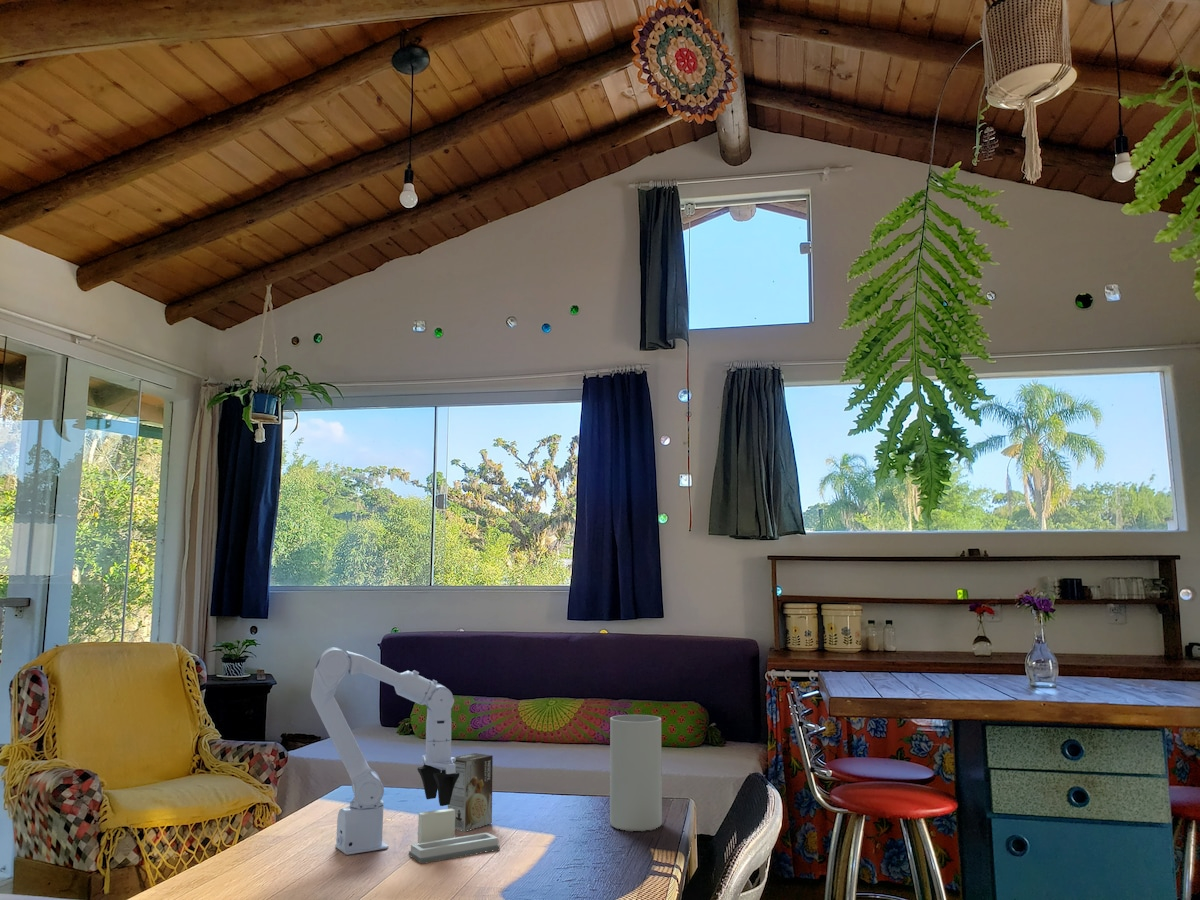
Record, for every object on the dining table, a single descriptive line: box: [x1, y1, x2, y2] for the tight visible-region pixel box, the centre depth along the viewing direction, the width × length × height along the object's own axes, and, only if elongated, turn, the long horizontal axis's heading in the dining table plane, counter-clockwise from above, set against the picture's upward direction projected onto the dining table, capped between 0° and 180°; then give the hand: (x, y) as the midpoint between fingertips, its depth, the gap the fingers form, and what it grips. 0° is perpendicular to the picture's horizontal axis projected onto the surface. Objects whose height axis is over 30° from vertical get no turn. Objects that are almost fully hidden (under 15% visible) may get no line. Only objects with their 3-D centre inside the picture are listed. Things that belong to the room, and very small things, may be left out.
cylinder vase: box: [609, 714, 663, 832], centre depth 217 cm, size 12×12×25 cm
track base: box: [408, 832, 500, 864], centre depth 192 cm, size 18×7×2 cm, turn 124°
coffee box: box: [447, 752, 494, 832], centre depth 215 cm, size 9×6×16 cm
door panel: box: [417, 808, 456, 844], centre depth 201 cm, size 8×2×6 cm, turn 124°
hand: (437, 801), depth 202 cm, fingers open, 7 cm apart
